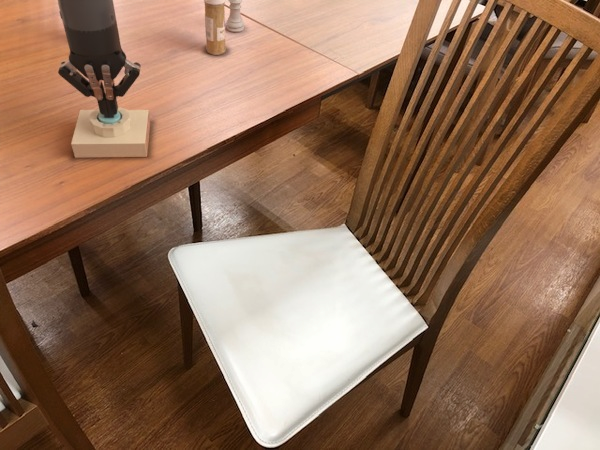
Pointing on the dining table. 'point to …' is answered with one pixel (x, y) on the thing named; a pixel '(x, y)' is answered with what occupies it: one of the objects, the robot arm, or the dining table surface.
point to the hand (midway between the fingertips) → (110, 115)
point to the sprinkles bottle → (215, 26)
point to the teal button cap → (109, 119)
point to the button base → (111, 135)
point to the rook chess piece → (235, 17)
